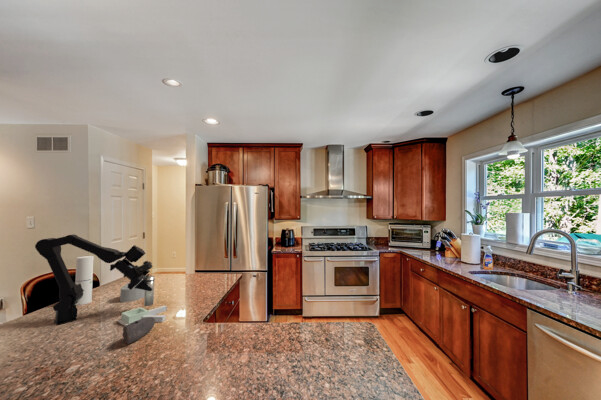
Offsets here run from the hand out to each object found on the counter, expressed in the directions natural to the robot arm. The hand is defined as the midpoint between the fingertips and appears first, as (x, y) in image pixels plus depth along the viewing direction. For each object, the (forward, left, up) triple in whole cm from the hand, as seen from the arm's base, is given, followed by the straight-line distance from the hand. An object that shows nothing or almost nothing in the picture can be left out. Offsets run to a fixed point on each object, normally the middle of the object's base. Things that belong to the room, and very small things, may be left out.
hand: (152, 289), depth 124 cm
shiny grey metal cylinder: (-1, +1, -8) cm, 8 cm away
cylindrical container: (-16, +43, -11) cm, 47 cm away
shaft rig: (-6, -10, -10) cm, 15 cm away
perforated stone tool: (-16, -24, -11) cm, 31 cm away
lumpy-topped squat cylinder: (+2, +28, -11) cm, 30 cm away
